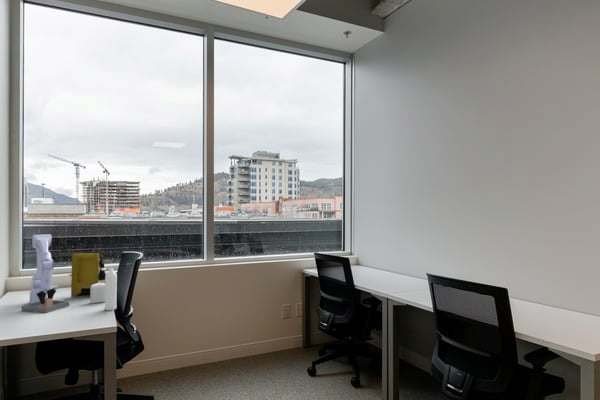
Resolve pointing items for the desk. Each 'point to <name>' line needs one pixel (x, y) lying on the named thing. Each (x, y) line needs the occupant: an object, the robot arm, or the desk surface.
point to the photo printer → (97, 293)
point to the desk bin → (36, 307)
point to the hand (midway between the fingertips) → (46, 302)
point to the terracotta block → (47, 303)
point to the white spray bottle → (110, 289)
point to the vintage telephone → (86, 272)
